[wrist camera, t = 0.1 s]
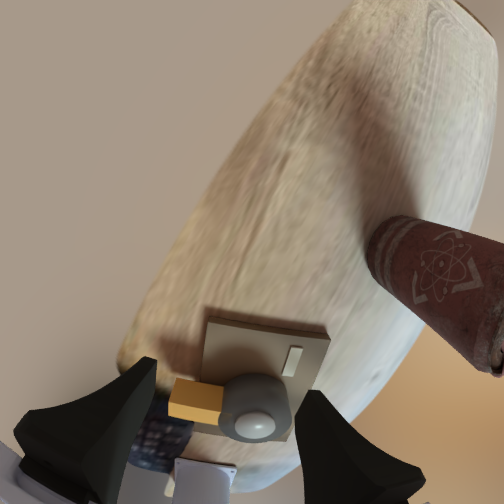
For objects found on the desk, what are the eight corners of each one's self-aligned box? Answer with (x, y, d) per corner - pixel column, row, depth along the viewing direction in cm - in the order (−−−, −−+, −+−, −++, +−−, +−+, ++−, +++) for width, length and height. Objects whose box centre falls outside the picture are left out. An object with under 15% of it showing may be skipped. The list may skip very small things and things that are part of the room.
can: (366, 296, 21) (469, 406, 8) (361, 220, 20) (505, 278, 6) (423, 280, 21) (534, 356, 7) (422, 210, 20) (559, 246, 6)
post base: (285, 435, 25) (286, 443, 24) (194, 424, 24) (193, 432, 23) (327, 334, 22) (331, 341, 21) (209, 316, 21) (207, 323, 20)
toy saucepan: (295, 377, 21) (302, 406, 18) (278, 420, 23) (281, 449, 19) (178, 359, 21) (167, 387, 17) (175, 405, 22) (167, 433, 19)
